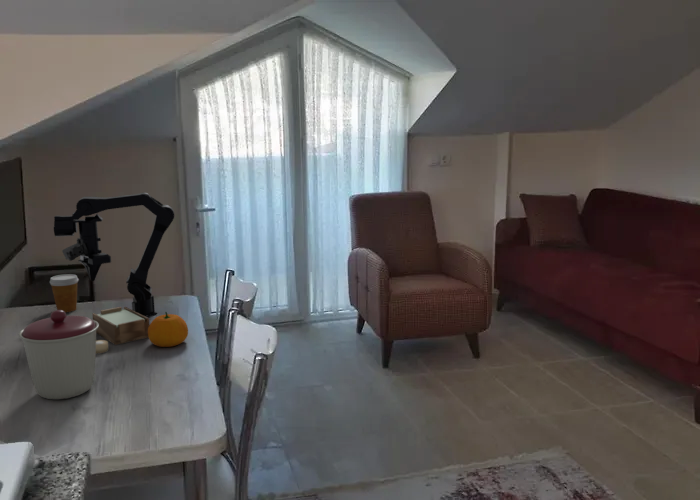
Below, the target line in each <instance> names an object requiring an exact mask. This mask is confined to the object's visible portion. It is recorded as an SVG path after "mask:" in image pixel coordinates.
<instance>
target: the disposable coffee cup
mask: <svg viewBox="0 0 700 500" xmlns="http://www.w3.org/2000/svg"><path fill="white" fill-rule="evenodd" d="M79 281H80V279H79V278H78V275H76V274H71V273H69V274H66V273H65V274H58V275H54V276H52V277H50V280H49V284H50V286H51V290H52V294H53V298H54V303H55V307H56V310H63V311H64V312H65V313H70V312H75V311H76V310H77V305H78V304H77V301H78V282H79Z"/></svg>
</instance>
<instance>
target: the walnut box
mask: <svg viewBox="0 0 700 500" xmlns="http://www.w3.org/2000/svg"><path fill="white" fill-rule="evenodd" d="M123 309H125V310H127V311H129V312H131V313H133V314H135V315H137V316H139V317H141V318H143V319H140V320H136V321H131V322H126V323H122V324H118V327H117V328H116V325H115V324H113V323H111V322H109V321H108V320H106V319H104V318H102V317H100V316H98V315H97V313H94V312H93V313H92V315H91V316H92V320H94V321H96V322H98V324H99V327H98V329H97V330H96V335H98V336H99V337H102V338H104V340H106V341H108V342H110V343H111V344H114V346H117V345H123V344H126V343H130V342H134V341H135V342H136V341H139V340H144V339H149V337H148V327H149V325H150V318H149V316H143V315H141V314H139V313H137V312H135V311H133V310H132V308H130V307H127V306H125V307H123ZM144 319H145V322H144Z"/></svg>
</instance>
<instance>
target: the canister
mask: <svg viewBox="0 0 700 500" xmlns="http://www.w3.org/2000/svg"><path fill="white" fill-rule="evenodd" d="M98 327H99V324H98V322H96V321H94V320H93V318H89V317H87V316H82V315H67V312H64V311H63V310H57V309H56V310H53V311H52V312H51V313H50V316H49V317H47V318H42V319H38V320H36V321H34V322H32V323H29V324H27V326H26V327H24V328H22V329H21V330H20V331H19V332H18V337H19V339H20V340H22V342H23V343H22V344H23V346H24V347H23V348H24V351H25V356H26V360H27V365H28V368H29V372H30V376H31V380H32V384H33V386H34V389H35V391H36V393H37V394H38V396H40V397H41V398H44V399H48V400H65V399H71V398H74V397H78V396H81V395H83V394H85V393H86V392H87V391H89V390H90V389H91V388H92V386H93V384H94V381H95V374H96V373H95V370H96V341H97V334H96V330H97V329H98Z"/></svg>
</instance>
